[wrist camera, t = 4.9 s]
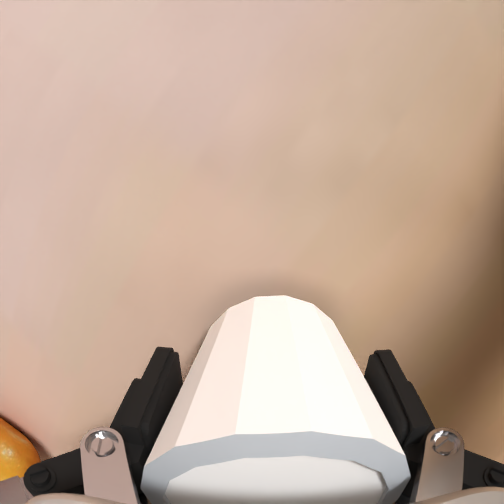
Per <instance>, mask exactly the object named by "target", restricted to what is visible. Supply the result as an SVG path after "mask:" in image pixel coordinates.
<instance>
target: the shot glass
mask: <svg viewBox="0 0 504 504" xmlns="http://www.w3.org/2000/svg"><path fill="white" fill-rule="evenodd" d="M410 478H411V475H410V471H409V467H408V464H407V460H406V456H405V454H404V452H403V450H402V448H401V446H400V444H399V442H398V440H397V438H396V436H395V434H394V432H393V431H392V429H391V427H390V425H389V423H388V421H387V419H386V417H385V415H384V413H383V412H382V410H381V408H380V406H379V404H378V402H377V400H376V398H375V397H374V395H373V393H372V391H371V389H370V387H369V385H368V384H367V382H366V380H365V378H364V376H363V374H362V373H361V371H360V369H359V367H358V365H357V363H356V362H355V360H354V358H353V356H352V354H351V353H350V351H349V349H348V347H347V345H346V344H345V342H344V340H343V338H342V337H341V335H340V333H339V331H338V329H337V328H336V326H335V324H334V322H333V321H332V320H331V319H330V318H329V317H328V316H327V315H325V314H324V313H323V312H322V311H321V310H320V309H318V308H317V307H316V306H315V305H314V304H312V303H309V302H305V301H302V300H299V299H296V298H292V297H289V296H286V295H281V296H262V297H253V298H251V299H249V300H246V301H244V302H242V303H239V304H237V305H235V306H232V307H230V308H228V309H227V310H226V311H225V312H224V313H223V314H222V315H221V316H220V317H219V318H218V319H217V320H216V321H215V322H214V323H213V324H212V325H211V327H210V329H209V331H208V333H207V335H206V337H205V339H204V341H203V343H202V345H201V348H200V350H199V352H198V354H197V356H196V358H195V360H194V362H193V364H192V366H191V368H190V371H189V373H188V375H187V377H186V379H185V381H184V383H183V385H182V387H181V389H180V392H179V394H178V396H177V398H176V400H175V402H174V404H173V406H172V408H171V411H170V413H169V415H168V417H167V419H166V421H165V423H164V425H163V427H162V429H161V432H160V434H159V436H158V438H157V440H156V442H155V444H154V446H153V449H152V451H151V453H150V455H149V457H148V459H147V461H146V463H145V465H144V470H143V476H142V481H141V487H140V488H141V490H142V491H143V493H144V494H145V495H146V497H147V498H148V500H149V501H150V503H151V504H393V503H394V502H395V501H397V500H398V498H399V497H400V495H401V493H402V492H403V490H404V488H405V487H406V485H407V483H408V482H409V480H410Z"/></svg>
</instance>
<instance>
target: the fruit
mask: <svg viewBox="0 0 504 504" xmlns="http://www.w3.org/2000/svg"><path fill="white" fill-rule="evenodd" d="M38 462H41V461H40V458H39V455H38V453H37V451H36V449H35V448H34V446H33V445H32V443H31V442H30V441H29V440H28V439H27V438H26V437H25V436H24V435H23V434H22V433H20V432H19V431H18V430H17V429H15V428H14V427H13V426H11V425H10V424H9V423H7V422H6V421H4V420H3V419H2V418H0V481H2V480H6V479H8V478H11V477H14V476H17V475H18V476H19V477H20V478H21V477H24V473H25V472H26V470H27V469H28V468H29V467H30V466H31V465H33V464H36V463H38Z"/></svg>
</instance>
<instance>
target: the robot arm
mask: <svg viewBox="0 0 504 504" xmlns="http://www.w3.org/2000/svg"><path fill="white" fill-rule="evenodd" d="M364 378H365V380H366V382H367V384H368V385H369V387H370V389H371V391H372V393H373V395H374V397H375V398H376V400H377V402H378V404H379V406H380V408H381V410H382V412H383V413H384V415H385V417H386V419H387V421H388V423H389V425H390V427H391V429H392V431H393V432H394V434H395V436H396V438H397V440H398V442H399V444H400V446H401V448H402V450H403V452H404V454H405V456H406V460H407V464H408V467H409V471H410V475H411V478H410V480H409V482H408V483H407V485H406V487H405V488H404V490H403V492H402V493H401V495H400V497H399V498H398V500H397V501H395V502H394V503H393V504H504V464H502V463H499V462H496V461H494V460H491V459H488V458H486V457H483V456H480V455H478V454H475V453H473V452H470V451H468V450H465V449H464V440H463V438H462V437H461V435H460V434H459V433H458V432H456V431H455V430H453V429H450V428H437V429H435V427H434V425H433V423H432V421H431V419H430V417H429V415H428V413H427V411H426V409H425V407H424V406H423V404H422V402H421V400H420V398H419V396H418V394H417V392H416V390H415V388H414V386H413V385H412V383H411V382H409V381H407V379H406V377H405V375H404V373H403V372H402V370H401V368H400V366H399V364H398V362H397V361H396V359H395V357H394V355H393V353H392V351H391V350H376V351H375V352H374V354H372V355H370V356H369V360H368V364H367V367H366V371H365V375H364ZM182 385H183V382H182V375H181V368H180V361H179V354H178V352H174V350H173V348H167V347H157V348H156V350H155V352H154V354H153V356H152V358H151V360H150V362H149V364H148V366H147V368H146V370H145V372H144V374H143V376H142V378H141V379H138V378H135V379H134V380H133V382H132V383H131V385H130V387H129V389H128V391H127V393H126V395H125V397H124V399H123V401H122V403H121V405H120V407H119V409H118V411H117V413H116V416H115V418H114V420H113V422H112V424H111V426H110V428H108V427H98V428H94V429H92V430H90V431H88V432H87V433H86V434H85V435H84V436H83V437H82V439H81V443H80V448H79V449H76V450H74V451H71V452H68V453H65V454H62V455H60V456H57V457H54V458H51V459H48V460H45V461H42V462H38V463H36V464H33V465H31V466H30V467H29V468H28V469H27V470H26V472H25V473H24V477H21V478H20V477H19V476H18V475H17V476H14V477H11V478H8V479H6V480H2V481H0V504H150V502H149V500H148V498H147V497H146V495H145V494H144V493H143V491H142V490H141V488H140V487H141V481H142V476H143V470H144V465H145V463H146V461H147V459H148V457H149V455H150V453H151V451H152V449H153V446H154V444H155V442H156V440H157V438H158V436H159V434H160V432H161V429H162V427H163V425H164V423H165V421H166V419H167V417H168V415H169V413H170V411H171V408H172V406H173V404H174V402H175V400H176V398H177V396H178V394H179V392H180V389H181V387H182Z"/></svg>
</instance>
